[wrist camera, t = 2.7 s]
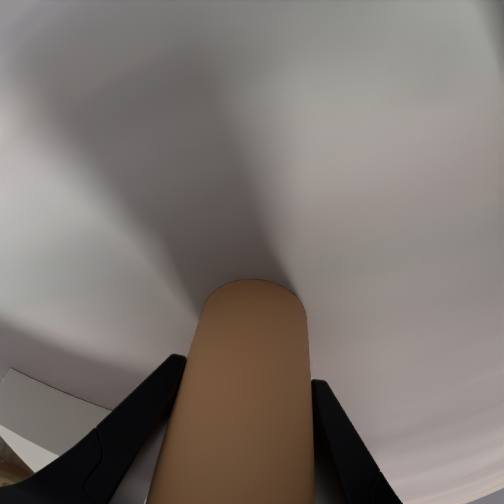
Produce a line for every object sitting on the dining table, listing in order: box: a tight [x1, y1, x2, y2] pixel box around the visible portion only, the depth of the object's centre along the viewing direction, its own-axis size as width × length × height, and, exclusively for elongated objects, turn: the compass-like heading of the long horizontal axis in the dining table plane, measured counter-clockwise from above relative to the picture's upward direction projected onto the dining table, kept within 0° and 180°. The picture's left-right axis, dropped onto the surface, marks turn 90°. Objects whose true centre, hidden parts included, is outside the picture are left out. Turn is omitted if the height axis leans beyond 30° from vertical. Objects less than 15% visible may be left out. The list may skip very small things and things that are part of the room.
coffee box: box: [0, 436, 35, 486], centre depth 18 cm, size 9×6×16 cm
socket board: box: [0, 368, 147, 504], centre depth 16 cm, size 14×12×4 cm
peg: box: [145, 279, 315, 504], centre depth 7 cm, size 4×4×8 cm
